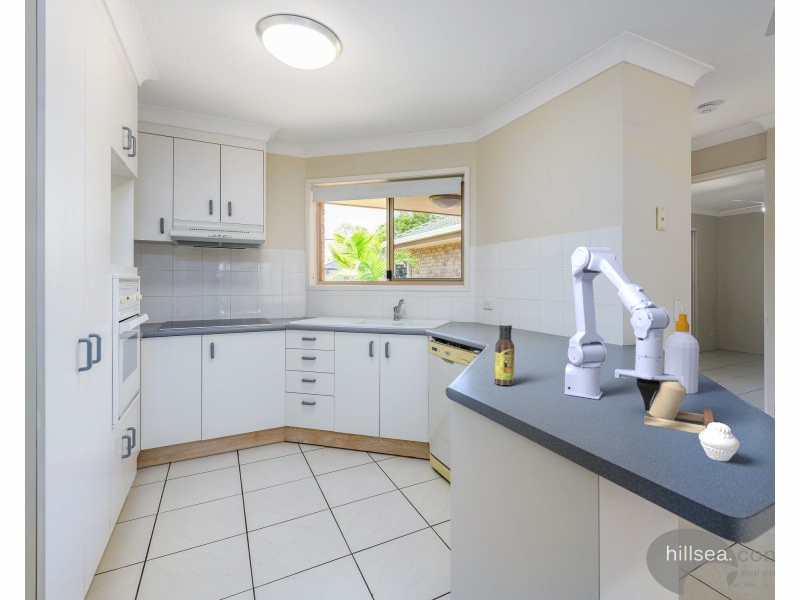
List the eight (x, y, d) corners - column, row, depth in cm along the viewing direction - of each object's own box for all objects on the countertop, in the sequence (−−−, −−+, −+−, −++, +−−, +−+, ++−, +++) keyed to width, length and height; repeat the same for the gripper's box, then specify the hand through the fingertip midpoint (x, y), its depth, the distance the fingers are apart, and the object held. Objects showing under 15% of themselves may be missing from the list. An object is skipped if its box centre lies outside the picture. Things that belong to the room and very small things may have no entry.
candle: (677, 425, 93) (693, 387, 91) (653, 418, 94) (668, 381, 92) (667, 415, 99) (682, 379, 97) (644, 408, 100) (658, 372, 97)
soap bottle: (696, 388, 124) (698, 313, 123) (699, 395, 116) (701, 315, 115) (663, 384, 129) (665, 312, 128) (664, 391, 121) (666, 314, 120)
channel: (644, 423, 94) (644, 410, 94) (647, 411, 103) (647, 399, 102) (713, 436, 86) (714, 422, 86) (710, 422, 95) (711, 409, 95)
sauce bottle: (505, 387, 126) (505, 326, 125) (490, 383, 131) (490, 324, 130) (518, 384, 130) (518, 324, 129) (503, 380, 135) (503, 323, 134)
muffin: (726, 467, 72) (728, 430, 72) (691, 454, 78) (692, 419, 77) (746, 461, 75) (747, 425, 74) (709, 448, 80) (711, 415, 80)
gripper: (613, 355, 98) (612, 408, 99) (685, 361, 90) (683, 420, 91) (617, 350, 104) (616, 401, 105) (684, 357, 96) (683, 411, 96)
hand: (647, 409), depth 98 cm, fingers closed, pressing on candle
